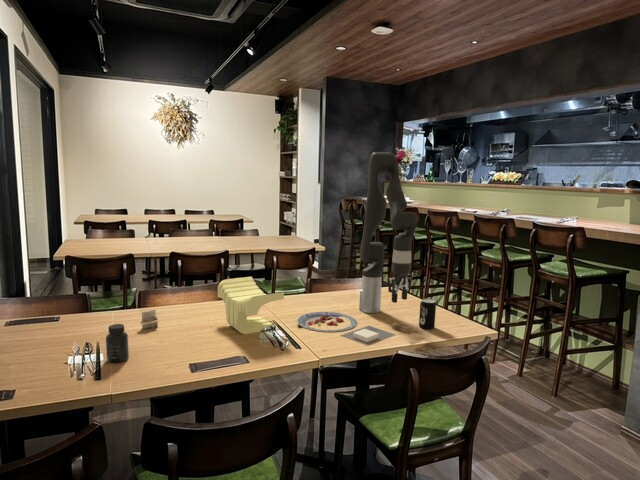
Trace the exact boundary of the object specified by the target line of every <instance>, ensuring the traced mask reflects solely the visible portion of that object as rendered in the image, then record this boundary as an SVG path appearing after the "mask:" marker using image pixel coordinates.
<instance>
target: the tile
mask: <svg viewBox="0 0 640 480" xmlns="http://www.w3.org/2000/svg"><path fill="white" fill-rule="evenodd" d="M353 338H355V339H358V340H361V341H363V342H366V343H368V342H370V341H373V340H376V339H378V338H379V333H376V332H373V331H370V330H367V329H363V330H360V331H357V332H354V333H353Z"/></svg>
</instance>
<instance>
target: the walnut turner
mask: <svg viewBox="0 0 640 480" xmlns="http://www.w3.org/2000/svg"><path fill="white" fill-rule="evenodd" d="M391 329H393V330H395V331H397V332H402V333H406V334H407V333H409V332H410V330H411V327H410V326H408V325H404V324H401V323H398V322H394V323H392V325H391Z"/></svg>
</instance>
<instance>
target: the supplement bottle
mask: <svg viewBox="0 0 640 480" xmlns="http://www.w3.org/2000/svg"><path fill="white" fill-rule="evenodd" d="M105 348H106V361H107V362H108V363H110V364H113V365H114V364H115V365H116V364H122V363H124V362H127V361H128V360H129V358H130V354H129V353H130V351H129V350H130V349H129V335H128V333H127V332H126V331H125V324H122V323H114V324H110V325H109V326H108V334H107V335H106V337H105Z"/></svg>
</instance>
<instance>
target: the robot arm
mask: <svg viewBox="0 0 640 480" xmlns="http://www.w3.org/2000/svg"><path fill="white" fill-rule="evenodd" d="M397 160H398V159H397V157H396V155H395V154H394V153H393V152H385V151H384V152H383V151H381V152H380V151H378V152H377V151H375V152H372V153H371V154H370V157H369V162H368V164H369V165H368V187H367V197H366V202H365V203H366V204H365V212H364V224H363V232H362V238H361V242H360V249H359V257H360V260H361V261H362V262H367V263H368V262H369V263H370V262H371V265H369V266H368V267H365V268H363V269H362V274H361V275H362V276H361V278H362V279H361V280H362V281H361V289H360V290H359V307H358V308H359V310H360V311H361V312H363V313H366V314H379V313H380V312H381V304H382V303H381V302H382V301H381V300H382V283H383V282H382V279H383V268H384V259H385V245H384V244H383V242H381V241H372V238H373V235H374V233H375V231H376V230H377V229H378V228H379V227H380V226H381V224H382V223H383V221H384V220H385V218H386V214H387V213H386V212H387V205H388V204H389V205H388V206H389V208H390V209H389V210H390V220H389V221H390V226H391V227H392V228H393V229H395V230H404V231H403V232H402V233H400V234H397V235H395V236H394V238H393V252H392V261H391V272H392V273H393V276H392V277H388V281H387V284H388V285H387V286H388V287H387V291H388V293H391V302H392V303H395V304H396V303H398V292H399V290H400V289H401V299H402V300H404V301H406V300H407V299H408V292H409V290H410V289H412V285H413V283H412V282H413V275H414V274H411V267H412V241H413V238H414V234H415V231H416V228H417V227H418V217H417V214H416V213H415V212H413V211H406V209H407V206H408V202H407V199H406V196H405V194H404V191H403V188H402V185H401V178H400V176H401V175H400V172H399V166H398V161H397ZM379 174H380V175H381V174H384V175H385V174H388V175H389V177H390V181H389V183H388V185H387V188H386V192H385V194H386V197H385V195H384V193H383V191H382V189H381V186H380V183H379ZM387 202H388V204H387ZM372 262H373V263H372Z"/></svg>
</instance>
